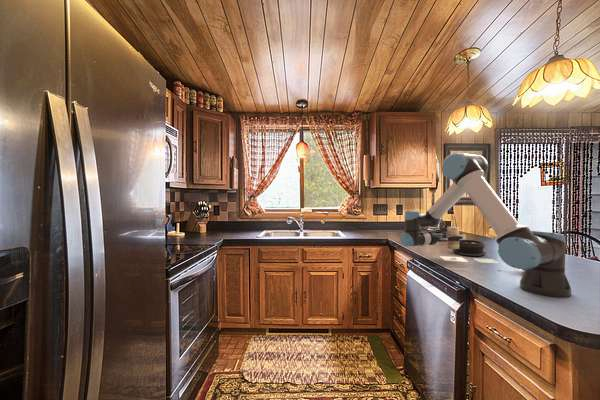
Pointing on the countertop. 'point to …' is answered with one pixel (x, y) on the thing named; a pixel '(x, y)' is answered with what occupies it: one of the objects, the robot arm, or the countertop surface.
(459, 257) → the board
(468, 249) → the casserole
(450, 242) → the maple post
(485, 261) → the sage pad
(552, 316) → the countertop surface
